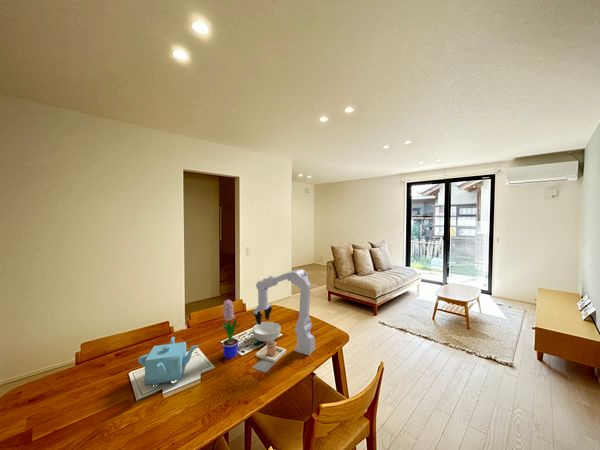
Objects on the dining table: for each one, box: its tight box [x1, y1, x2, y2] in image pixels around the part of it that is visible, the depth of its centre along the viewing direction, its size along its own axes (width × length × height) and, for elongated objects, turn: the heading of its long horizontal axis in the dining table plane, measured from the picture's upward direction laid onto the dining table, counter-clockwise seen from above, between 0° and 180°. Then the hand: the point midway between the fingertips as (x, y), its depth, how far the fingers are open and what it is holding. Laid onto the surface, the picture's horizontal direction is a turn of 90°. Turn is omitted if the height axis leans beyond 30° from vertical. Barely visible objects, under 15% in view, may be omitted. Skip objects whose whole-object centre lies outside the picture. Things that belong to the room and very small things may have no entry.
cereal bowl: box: [252, 321, 281, 343], centre depth 142 cm, size 17×17×7 cm
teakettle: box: [137, 336, 199, 387], centre depth 107 cm, size 19×19×15 cm
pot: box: [265, 340, 277, 357], centre depth 125 cm, size 5×5×6 cm
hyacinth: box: [221, 299, 242, 359], centre depth 124 cm, size 9×10×30 cm
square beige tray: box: [255, 345, 287, 364], centre depth 125 cm, size 12×11×2 cm
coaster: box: [252, 358, 276, 374], centre depth 115 cm, size 8×8×1 cm
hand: (263, 321), depth 143 cm, fingers open, 7 cm apart
